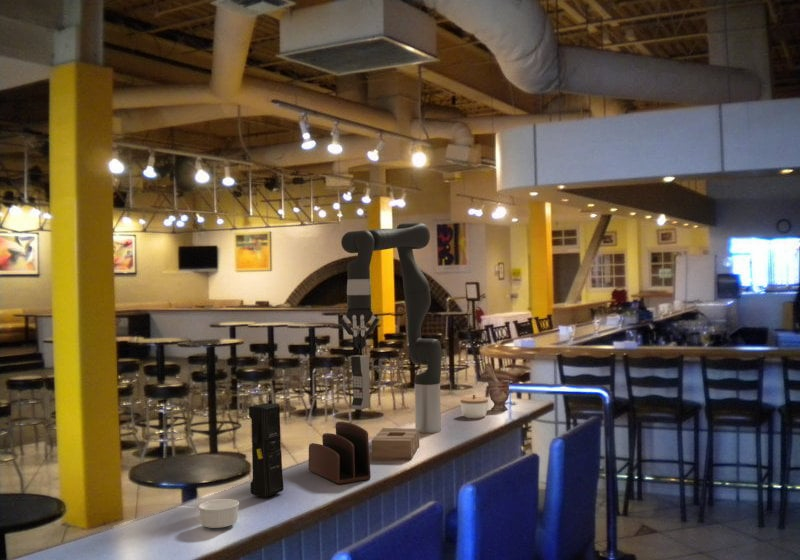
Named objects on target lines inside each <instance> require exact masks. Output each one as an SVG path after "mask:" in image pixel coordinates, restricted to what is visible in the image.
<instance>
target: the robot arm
mask: <svg viewBox="0 0 800 560" xmlns="http://www.w3.org/2000/svg"><path fill="white" fill-rule="evenodd" d="M430 238H431V233H430V230H429V227H428V226H427V225H426V224H424V223H422V222H405V223H399V224H398V225H397V227H396V228H377V229H376V228H375V229H371V230H370V229H369V230H364V229H363V230H352V231H351V230H350V231H348V232H346V233H345V234H343V235H342V237H341V241H340V242H341V247H342V249H343V250H344V251H345V252H346V253H349V254H357V256H356V259H354V260H351V261H349V262H348V263H347V284H346V295H347V296H346V299H347V300H346V301H347V308H346V309H347V311H346V314H345V315H344V317H342V318H340V319H339V323H340V324H341V326H342V327H343V328H344V330H345V331H346V332H347V334H348V335H349V336H353V339H354V340H353V341H354V342H353V343H354V344H353V346H354V347H355V348H356V349H357V350H358V349H359V343H360V340H359V330H360V329H361V349H362V350H363V349H364V348H365V347H366V346H367V336H368V335H371V334H372V332H373V331H374V329H376V326H378V324H379V322H380V320H381V319H380V318H379V317H376V316H375V315H374V314H373V313H374V312H373V311H372V298H371V297H372V291H371V290H372V288H371V287H372V286H371V280H370V278H371V277H370V276H371V275H370V274H371V273H370V266H371V261H372V258H373V253H374V252H377V251H383V250H391V249H396V250H397V254H398V259H399V264H400V269H401V275H402V276H401V277H402V283H403V285H402V286H403V295H404V303H405V309H406V318H407V320H406V321H407V328H408V329H407V330H408V331H407V333H408V334H407V335H408V336H407V337H408V354H409V358H410V360H411V362H412V364H414V365H427V367H426V369H425V371H423V372H421V373H419V374H416V375H415V376H414V414H415V415H414V416H415V418H414V420H415V422H414V423H415V428H416V429H419V434H420V433H421V434H434V433H440V432H441V431H442V412H441V410H442V409H441V408H442V404H441V375H442V352H443V351H442V344H441V342H440V340H439V339H436V338H422V324H423V321H424V319H425V317H426V316H427V314H428V311H429V309H430V306H431V305H432V303H431V302H432V301H431V300H432V299H431V288H430V284H429V281H428V280H427V278H426V276H425V275H424V273H423V271H422V270H421V269H420V267H419V266H418V263H416V260H415V256H414V250H421V249H424V248H426V246H428V244H429V242H430ZM370 321H371V325H369V328H368V329H367V325H368V323H369V322H370ZM349 322H350V323H351V325H352V328H351V326H350V325H349ZM359 328H360V329H359Z"/></svg>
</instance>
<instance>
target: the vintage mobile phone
mask: <svg viewBox="0 0 800 560" xmlns="http://www.w3.org/2000/svg"><path fill="white" fill-rule="evenodd" d="M359 340H360V343H359V352H358V353H359V354H356V355H355V354H354V355H351V356H350V366H351V374H352V402H351V409H352V410H360V411H361V410H365V409H369V408H370V407H371V399H370V398H371V396H370V395H371V394H370V393H371V392H370V391H371V390H370V387H371V386H370V384H371V383H370V356H369V355H368V354H363V349H361V328H360V329H359Z"/></svg>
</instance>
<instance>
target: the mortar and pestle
mask: <svg viewBox="0 0 800 560" xmlns="http://www.w3.org/2000/svg"><path fill="white" fill-rule="evenodd" d="M484 367H485V370H486V371H487V373H488V374H489V376H490V378H491V380H490V379H489V380H488V381H487V382H488V385H487V386H488V394H489V398H490V400H491V401H492V403H493V406H492V407H491V408H490V411H491V412H492V411H493V412H507V411H509V409H508V407H507V406H506V403H507V401H508V399H509V396H510V380H508V379H506V380H505V379H498V378H497V376H496V374H495V371H494V367H493V365H492V364H491V363H490V362H488V363H485V365H484Z"/></svg>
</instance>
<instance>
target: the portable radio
mask: <svg viewBox="0 0 800 560" xmlns="http://www.w3.org/2000/svg"><path fill="white" fill-rule="evenodd" d="M271 395H272V394H271V393H268V395H267V396H268V400H267V402H268V403H267V402H266V403H260V404H257V405H252V406H249V407H248V417H249V418H250V419H251V449H252V450H251V455H252V456H251V457H252V459H251V460H252V461H251V462H252V465H251V466H252V481H251V482H250V494H251V495H253V496H258V497H265V498H268V497H271V496H273V495H276V494H280V493H282V492H283V491H284V479H283V477H284V476H283V475H284V474H283V460H282V448H281V447H282V445H281V444H282V443H281V413H280V412H281V409H280V408H281V406H280V403H273V402H272V400H271Z"/></svg>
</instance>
